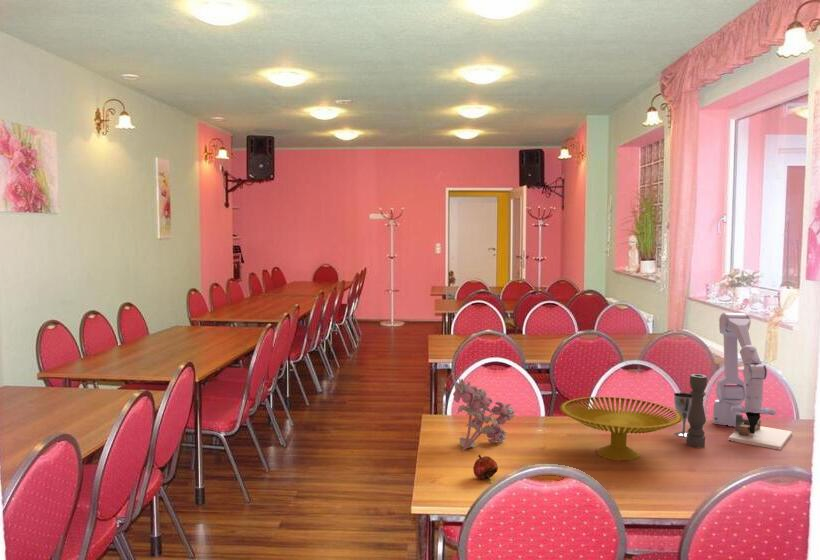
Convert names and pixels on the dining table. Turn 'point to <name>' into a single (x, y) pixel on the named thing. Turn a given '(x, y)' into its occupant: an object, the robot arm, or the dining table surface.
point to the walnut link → (747, 428)
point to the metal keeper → (741, 421)
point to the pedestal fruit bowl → (620, 422)
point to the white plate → (763, 437)
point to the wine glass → (682, 409)
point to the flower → (481, 414)
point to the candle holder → (697, 411)
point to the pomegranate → (485, 467)
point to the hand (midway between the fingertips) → (751, 432)
